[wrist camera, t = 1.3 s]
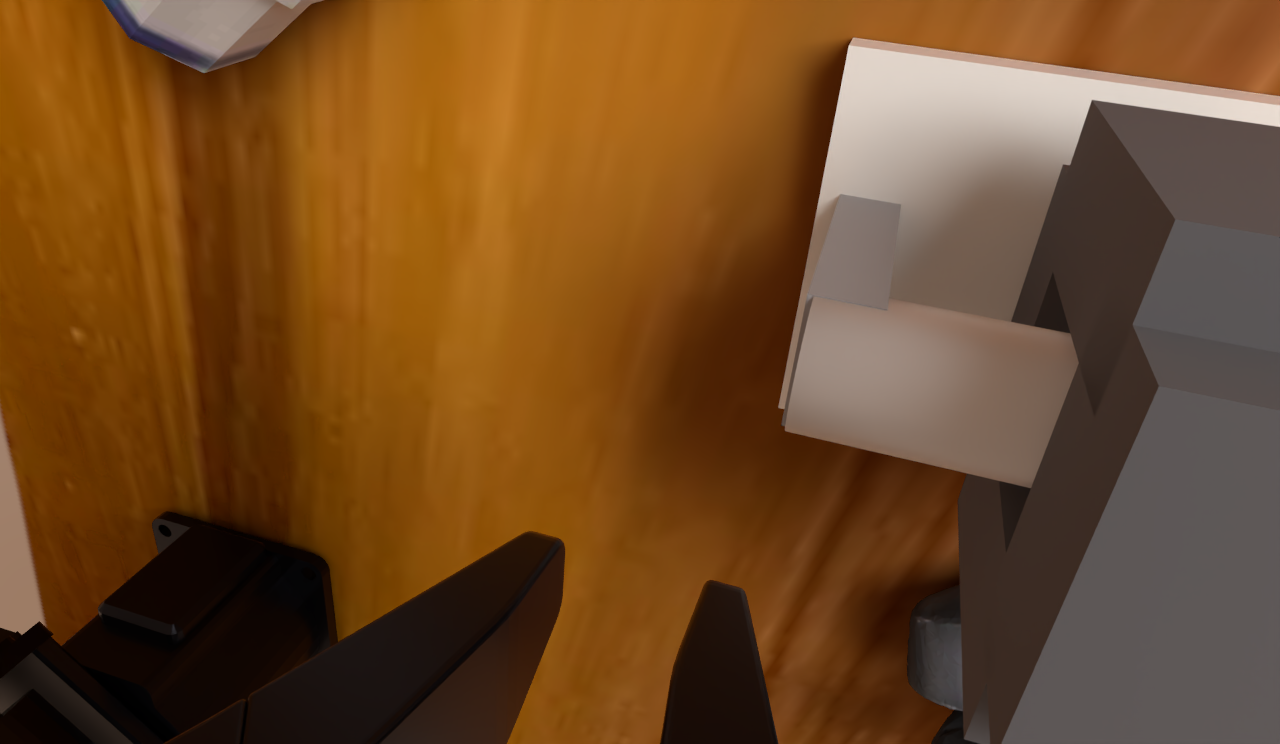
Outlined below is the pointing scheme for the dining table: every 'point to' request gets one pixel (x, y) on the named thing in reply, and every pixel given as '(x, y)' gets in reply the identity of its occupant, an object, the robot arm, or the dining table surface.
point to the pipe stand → (948, 253)
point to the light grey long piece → (206, 27)
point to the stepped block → (1142, 455)
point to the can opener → (939, 659)
